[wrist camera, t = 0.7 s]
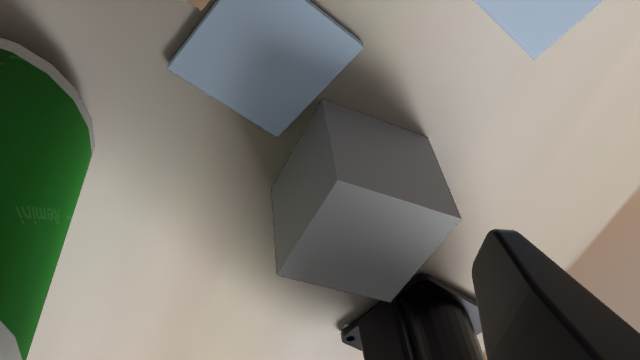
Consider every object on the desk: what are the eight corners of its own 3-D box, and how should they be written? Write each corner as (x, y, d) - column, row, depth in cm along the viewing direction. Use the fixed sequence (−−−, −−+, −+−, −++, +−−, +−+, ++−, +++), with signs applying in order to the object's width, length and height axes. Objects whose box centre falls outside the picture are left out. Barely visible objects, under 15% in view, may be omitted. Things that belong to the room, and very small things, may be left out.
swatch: (362, 42, 21) (364, 47, 21) (277, 131, 23) (277, 137, 23) (252, -46, 19) (252, -42, 18) (168, 63, 21) (167, 68, 20)
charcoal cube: (427, 136, 24) (461, 218, 20) (369, 216, 27) (390, 302, 23) (321, 97, 22) (337, 180, 19) (271, 187, 25) (276, 275, 21)
